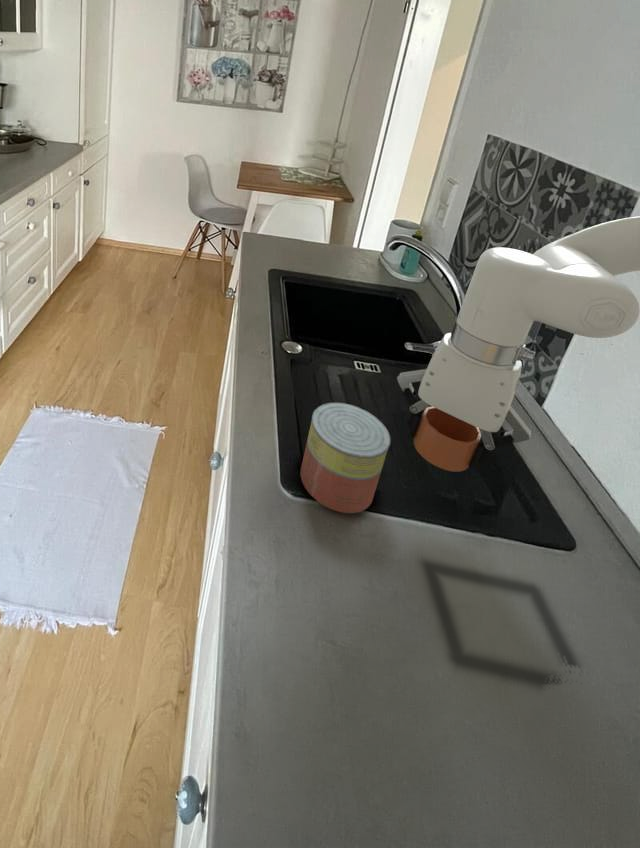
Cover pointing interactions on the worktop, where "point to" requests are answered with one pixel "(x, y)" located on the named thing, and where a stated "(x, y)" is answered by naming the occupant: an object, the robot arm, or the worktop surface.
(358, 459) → the canned food
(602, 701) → the worktop surface
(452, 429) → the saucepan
